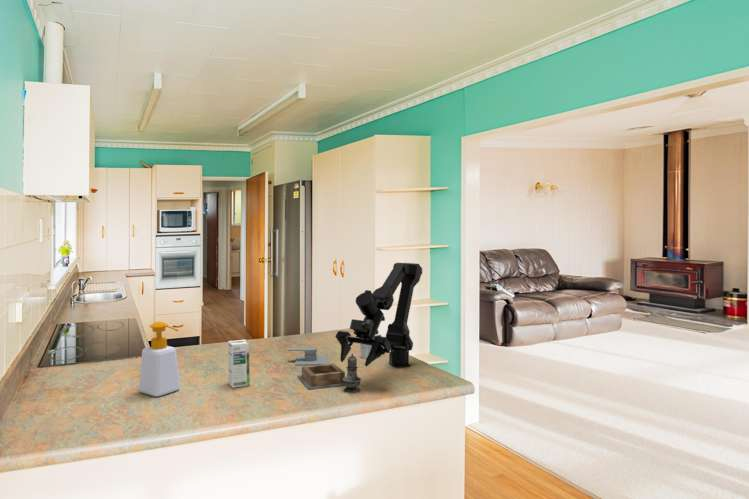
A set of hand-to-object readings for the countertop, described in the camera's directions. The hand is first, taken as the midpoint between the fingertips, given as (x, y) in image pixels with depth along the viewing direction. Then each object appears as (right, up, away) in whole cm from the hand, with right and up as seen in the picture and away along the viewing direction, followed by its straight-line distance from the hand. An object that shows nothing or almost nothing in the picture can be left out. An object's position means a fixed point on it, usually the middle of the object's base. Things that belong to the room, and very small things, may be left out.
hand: (353, 363), depth 177 cm
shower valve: (-18, -7, +33) cm, 38 cm away
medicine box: (+5, -6, +40) cm, 41 cm away
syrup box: (-38, -8, +4) cm, 39 cm away
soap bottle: (-59, -8, -5) cm, 60 cm away
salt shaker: (0, -9, 0) cm, 9 cm away
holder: (-11, -8, +9) cm, 16 cm away
